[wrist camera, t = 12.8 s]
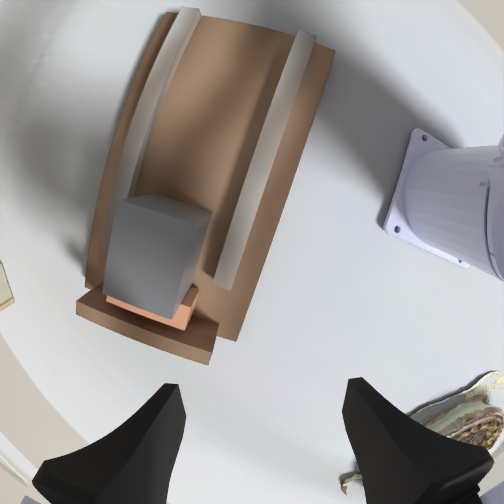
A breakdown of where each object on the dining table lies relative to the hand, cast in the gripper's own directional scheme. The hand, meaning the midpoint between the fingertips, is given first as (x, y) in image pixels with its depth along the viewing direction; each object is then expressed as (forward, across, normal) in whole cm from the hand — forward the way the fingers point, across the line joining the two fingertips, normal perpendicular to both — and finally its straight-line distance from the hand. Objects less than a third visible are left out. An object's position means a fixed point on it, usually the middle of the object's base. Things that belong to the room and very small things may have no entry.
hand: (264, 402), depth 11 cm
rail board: (+9, +4, -10) cm, 14 cm away
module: (+8, +6, -5) cm, 11 cm away
